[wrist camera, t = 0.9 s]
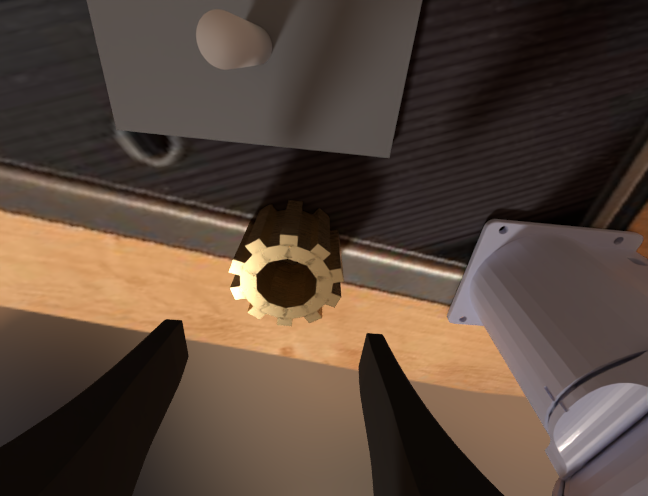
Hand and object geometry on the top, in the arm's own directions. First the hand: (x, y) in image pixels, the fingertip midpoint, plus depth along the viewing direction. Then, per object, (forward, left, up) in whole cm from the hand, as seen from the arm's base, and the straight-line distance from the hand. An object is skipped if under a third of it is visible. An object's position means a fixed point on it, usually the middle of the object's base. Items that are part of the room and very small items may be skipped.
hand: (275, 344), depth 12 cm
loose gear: (0, 0, -8) cm, 8 cm away
